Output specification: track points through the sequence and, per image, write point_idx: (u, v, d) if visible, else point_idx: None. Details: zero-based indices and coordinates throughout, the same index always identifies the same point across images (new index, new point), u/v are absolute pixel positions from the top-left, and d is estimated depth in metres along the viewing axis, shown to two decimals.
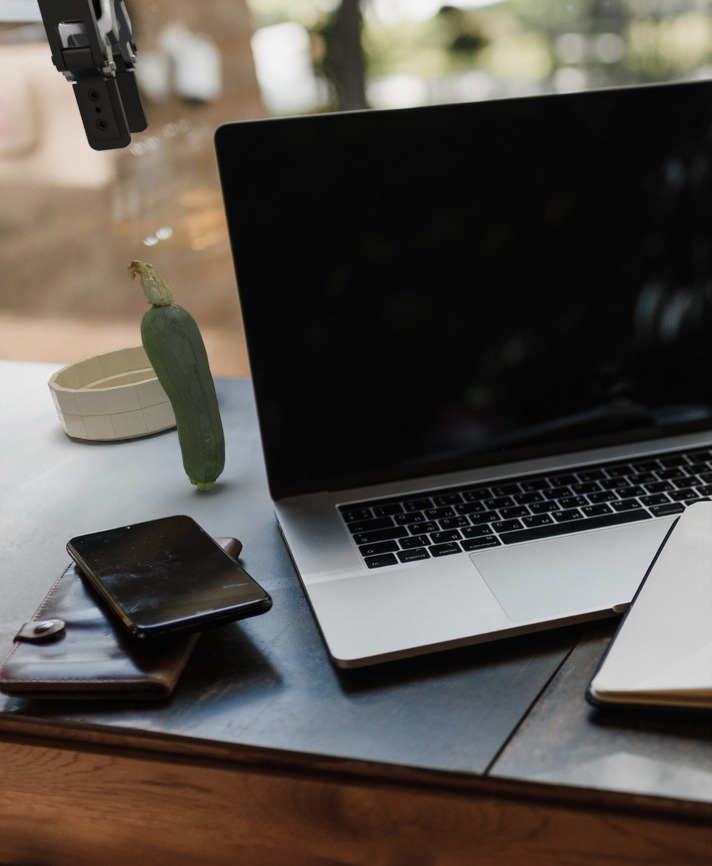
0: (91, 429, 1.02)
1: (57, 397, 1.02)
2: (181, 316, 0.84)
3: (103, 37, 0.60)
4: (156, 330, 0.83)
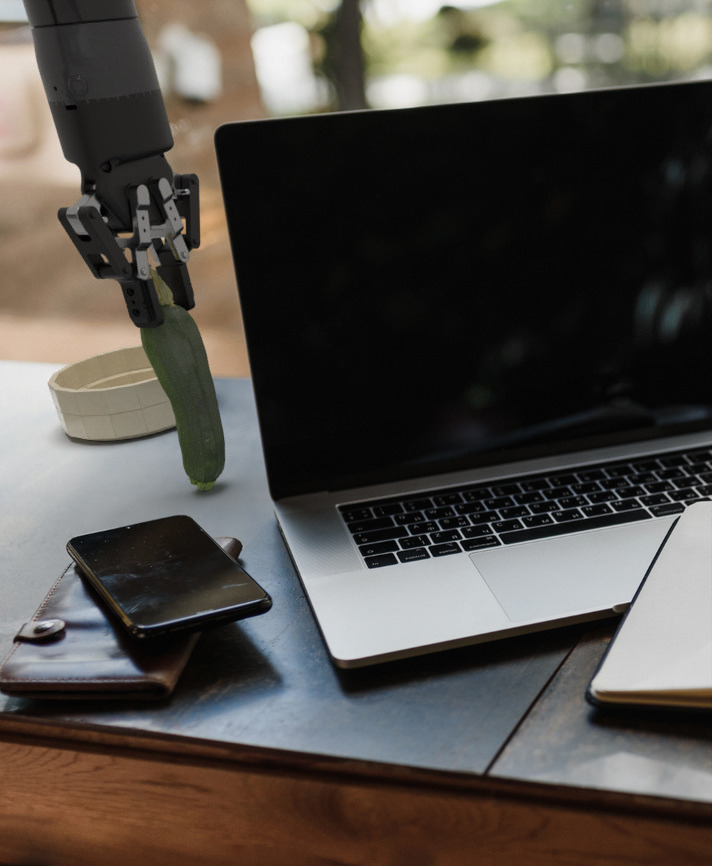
0: (91, 429, 1.02)
1: (57, 397, 1.02)
2: (181, 316, 0.84)
3: (135, 252, 0.79)
4: (155, 330, 0.83)
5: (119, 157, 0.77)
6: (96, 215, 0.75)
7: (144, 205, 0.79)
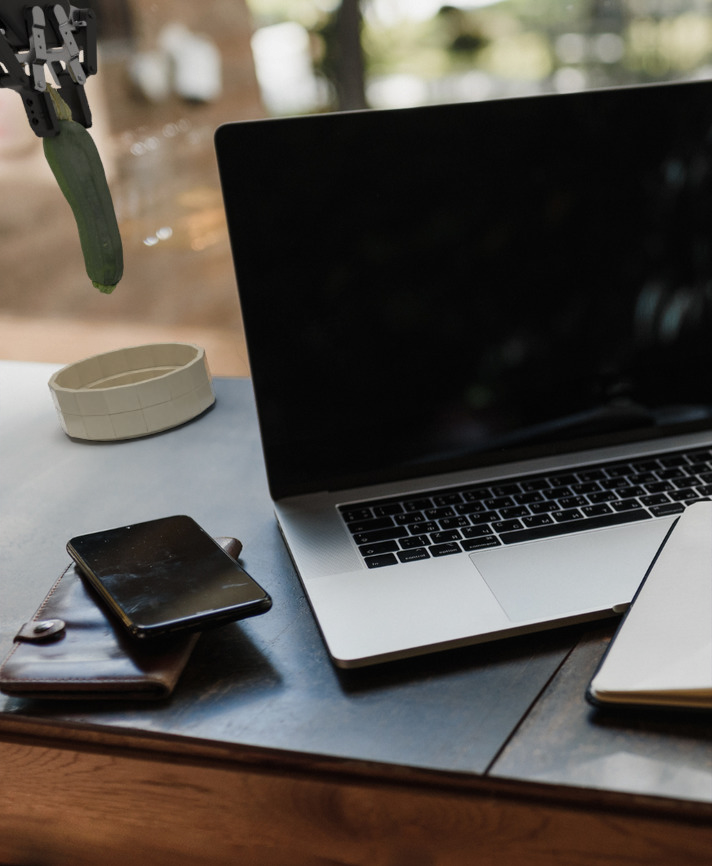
0: (91, 429, 1.02)
1: (57, 397, 1.02)
2: (78, 129, 0.96)
3: (31, 65, 0.92)
4: (54, 140, 0.95)
5: None
6: None
7: (39, 24, 0.92)
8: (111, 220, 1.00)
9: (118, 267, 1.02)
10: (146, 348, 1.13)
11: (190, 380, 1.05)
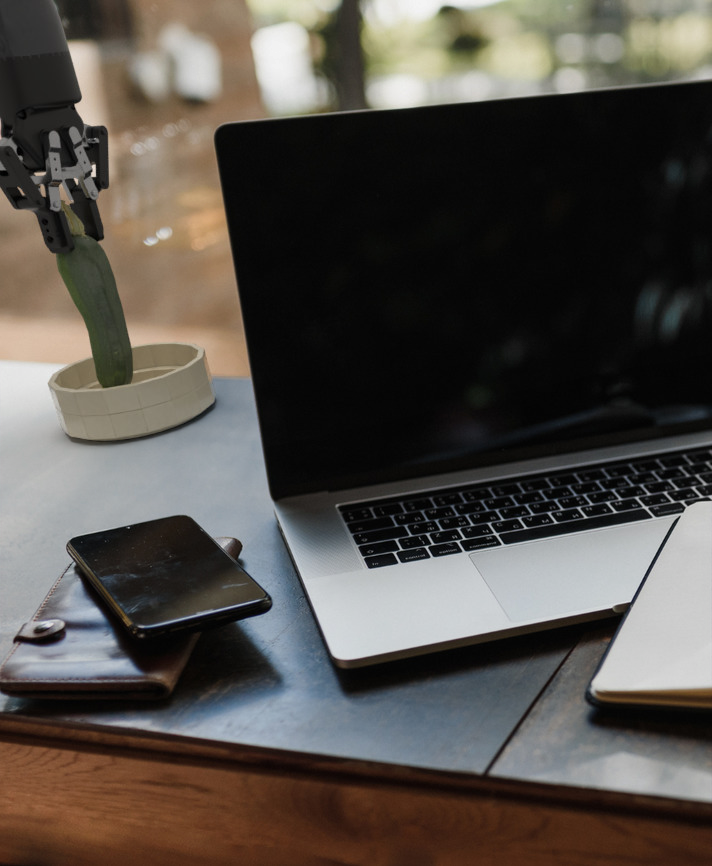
0: (91, 429, 1.02)
1: (57, 397, 1.02)
2: (91, 244, 0.99)
3: (47, 187, 0.95)
4: (68, 256, 0.98)
5: (33, 106, 0.92)
6: (12, 153, 0.91)
7: (55, 148, 0.95)
8: (122, 329, 1.03)
9: (128, 373, 1.05)
10: (146, 348, 1.13)
11: (190, 380, 1.05)
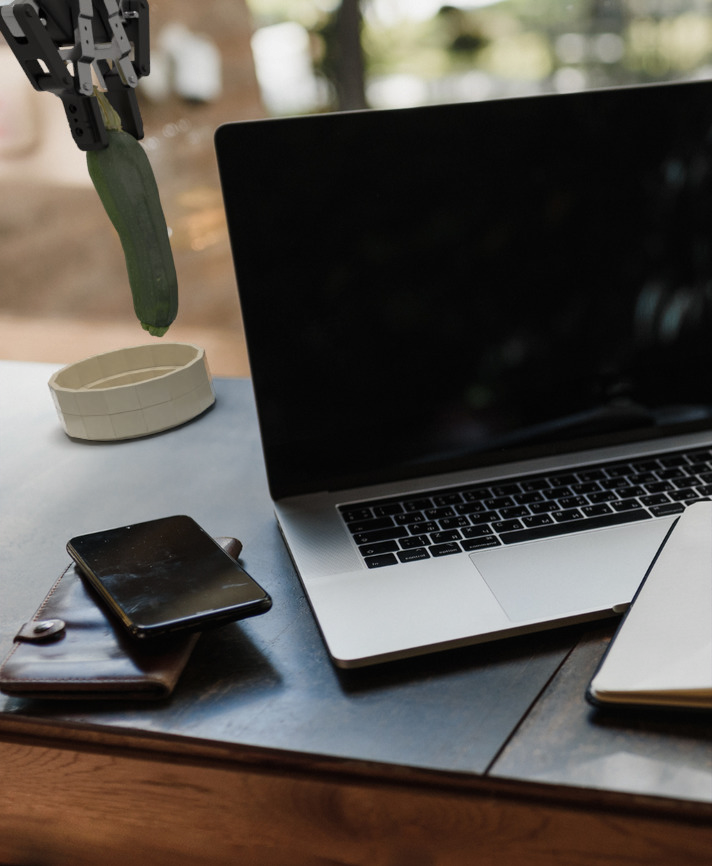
0: (91, 429, 1.02)
1: (57, 397, 1.02)
2: (129, 141, 0.80)
3: (77, 64, 0.75)
4: (101, 154, 0.79)
5: None
6: (33, 14, 0.71)
7: (86, 14, 0.75)
8: (166, 250, 0.84)
9: (172, 305, 0.85)
10: (146, 348, 1.13)
11: (190, 380, 1.05)
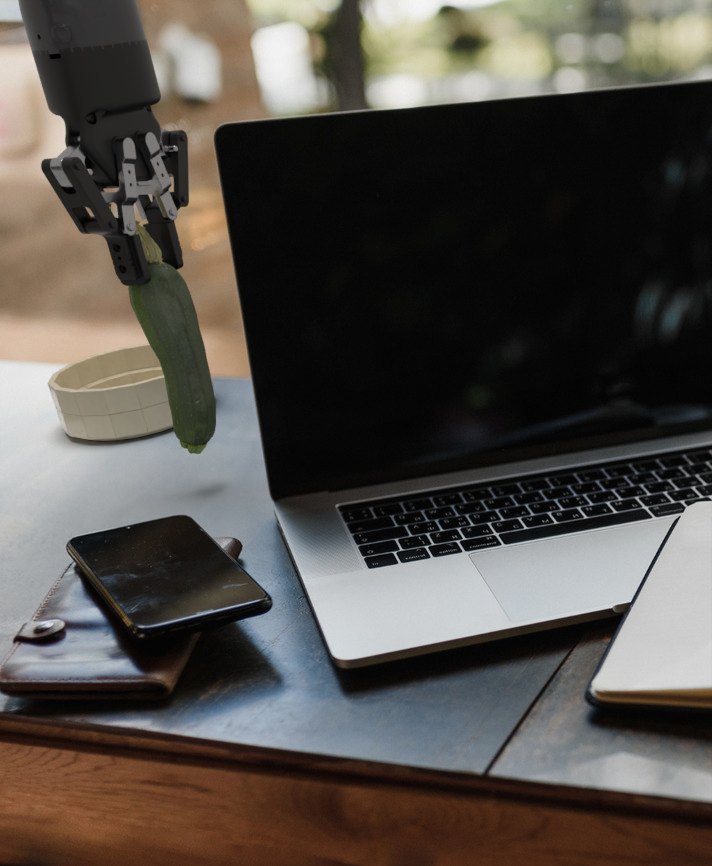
0: (91, 429, 1.02)
1: (57, 397, 1.02)
2: (170, 274, 0.82)
3: (121, 206, 0.78)
4: (144, 288, 0.81)
5: (105, 108, 0.75)
6: (80, 166, 0.74)
7: (130, 159, 0.78)
8: (204, 373, 0.86)
9: (211, 424, 0.88)
10: (146, 348, 1.13)
11: None
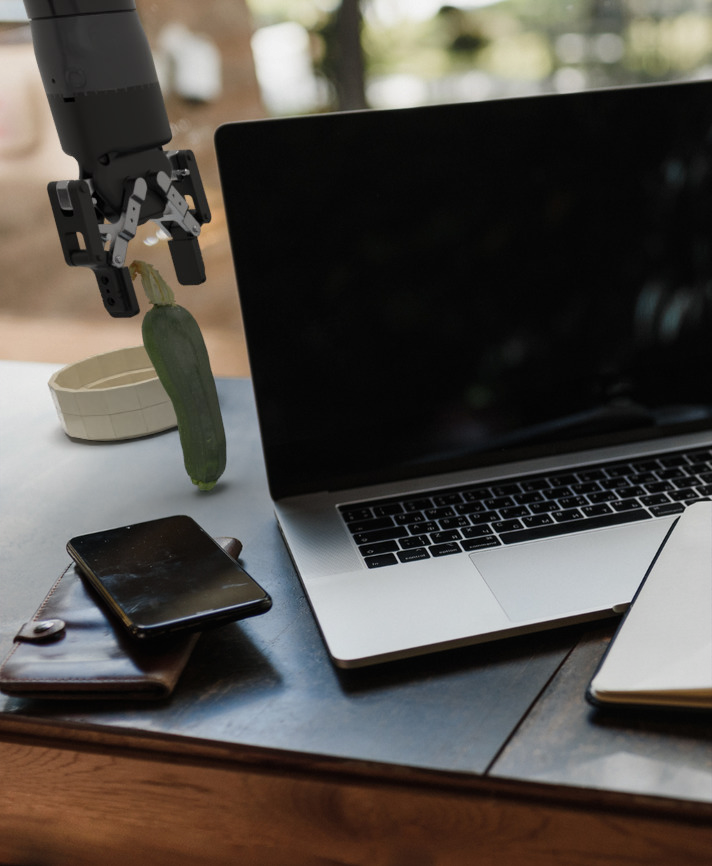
0: (91, 429, 1.02)
1: (57, 397, 1.02)
2: (183, 316, 0.84)
3: (115, 237, 0.78)
4: (157, 330, 0.83)
5: (118, 150, 0.76)
6: (86, 190, 0.74)
7: (138, 197, 0.79)
8: (216, 412, 0.88)
9: (221, 462, 0.89)
10: None
11: None
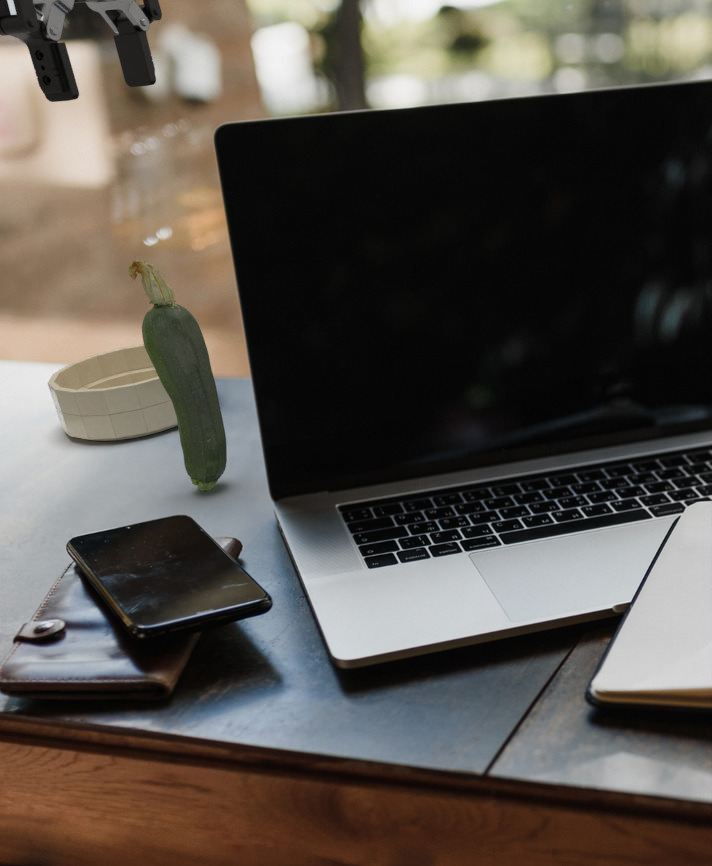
0: (91, 429, 1.02)
1: (57, 397, 1.02)
2: (183, 316, 0.84)
3: (50, 6, 0.71)
4: (157, 330, 0.83)
5: None
6: None
7: None
8: (216, 412, 0.88)
9: (221, 462, 0.89)
10: None
11: None
